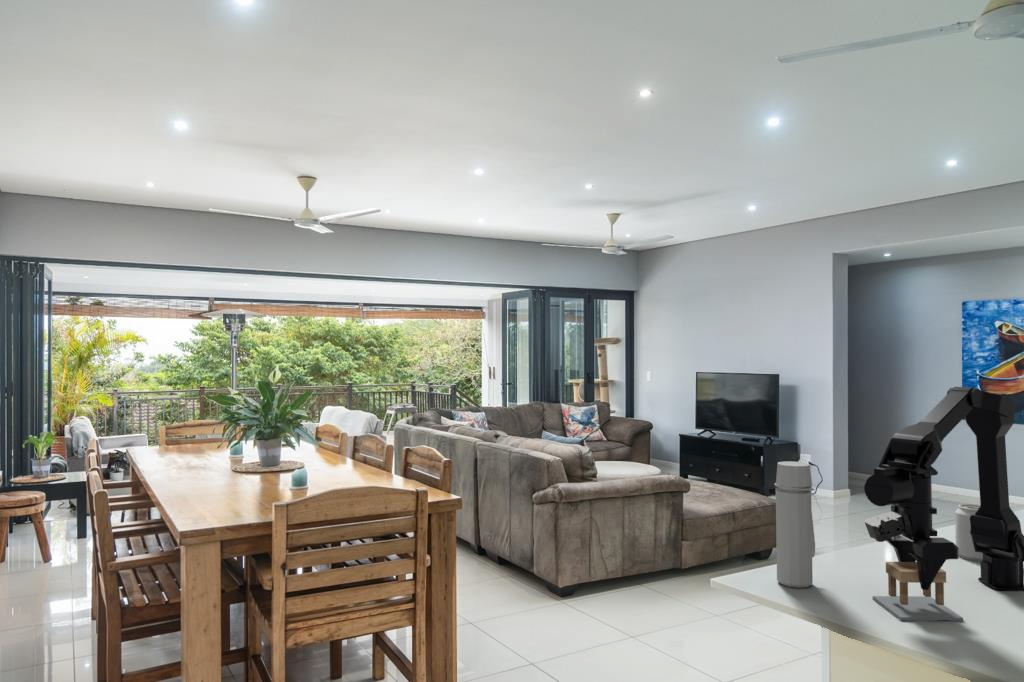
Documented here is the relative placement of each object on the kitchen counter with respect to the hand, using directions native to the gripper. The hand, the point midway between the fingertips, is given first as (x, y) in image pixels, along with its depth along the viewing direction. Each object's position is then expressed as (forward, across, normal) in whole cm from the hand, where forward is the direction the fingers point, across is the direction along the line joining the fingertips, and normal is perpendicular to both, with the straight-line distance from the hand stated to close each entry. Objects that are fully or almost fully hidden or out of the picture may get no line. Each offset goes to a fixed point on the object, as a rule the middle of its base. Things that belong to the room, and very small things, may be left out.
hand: (915, 583), depth 133 cm
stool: (+3, 0, 0) cm, 3 cm away
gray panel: (+5, 0, 0) cm, 5 cm away
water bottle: (+5, -15, -17) cm, 23 cm away
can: (+5, -34, +30) cm, 46 cm away
